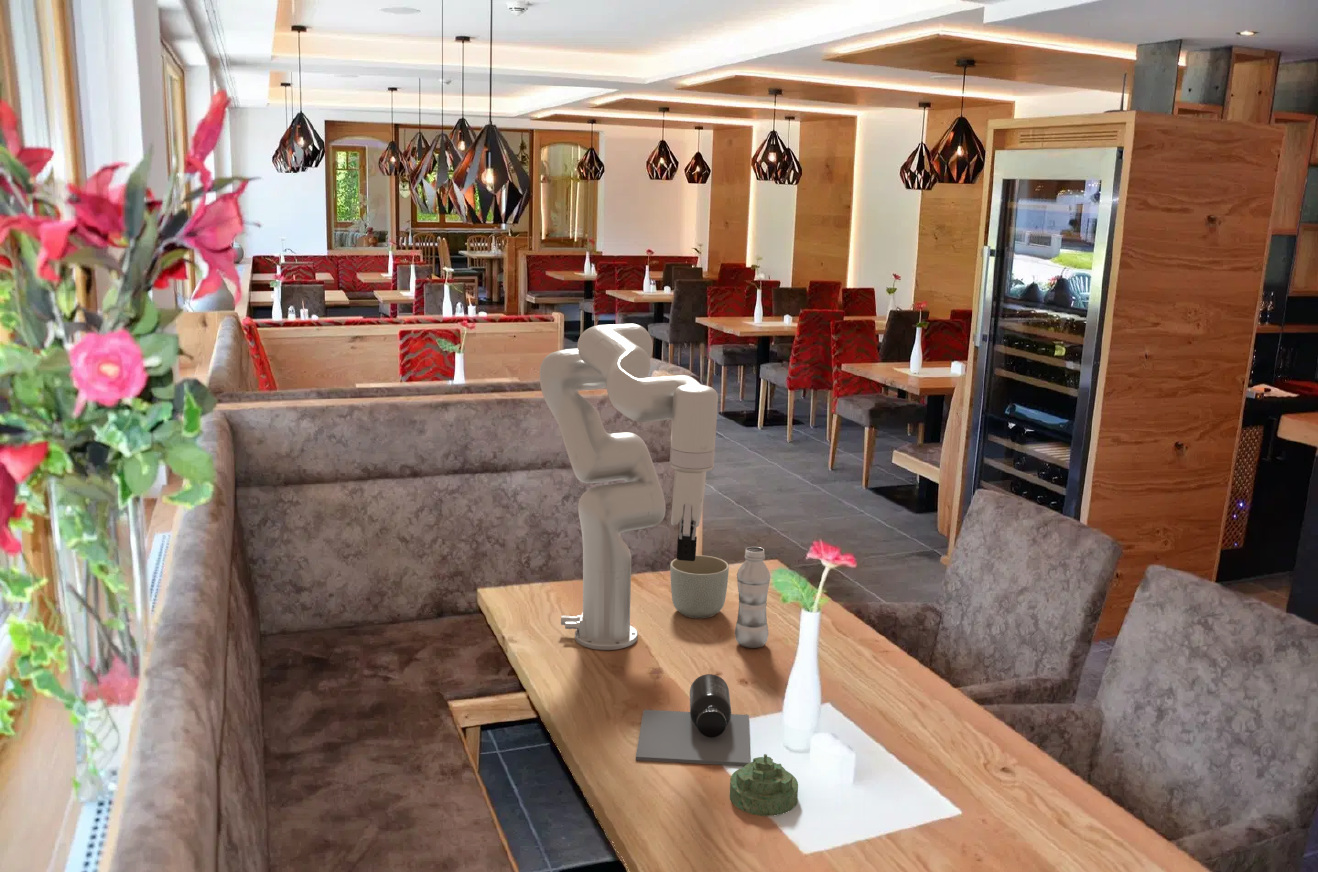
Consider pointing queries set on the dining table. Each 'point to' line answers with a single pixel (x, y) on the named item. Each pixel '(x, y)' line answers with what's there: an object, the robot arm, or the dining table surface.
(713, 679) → the supplement bottle
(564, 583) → the dining table surface
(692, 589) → the planter
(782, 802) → the decorative artifact
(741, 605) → the plastic bottle
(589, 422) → the robot arm
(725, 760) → the mat
